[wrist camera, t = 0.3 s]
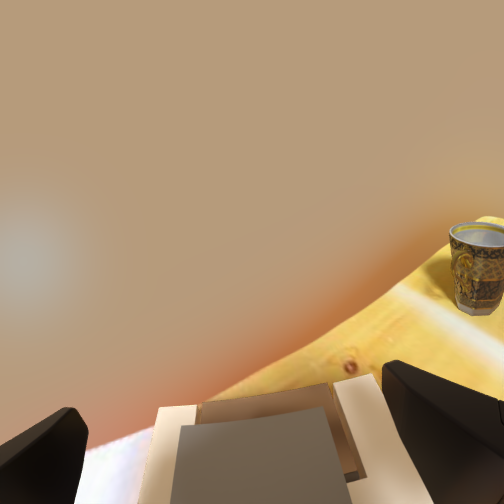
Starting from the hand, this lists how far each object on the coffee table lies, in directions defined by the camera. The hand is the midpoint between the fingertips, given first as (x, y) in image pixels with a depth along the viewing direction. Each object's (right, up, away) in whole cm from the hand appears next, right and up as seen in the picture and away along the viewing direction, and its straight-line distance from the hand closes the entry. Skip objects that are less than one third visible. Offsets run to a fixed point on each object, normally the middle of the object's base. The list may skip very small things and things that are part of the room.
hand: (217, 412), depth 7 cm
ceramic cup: (+30, -3, +26) cm, 40 cm away
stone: (+2, -6, +1) cm, 6 cm away
